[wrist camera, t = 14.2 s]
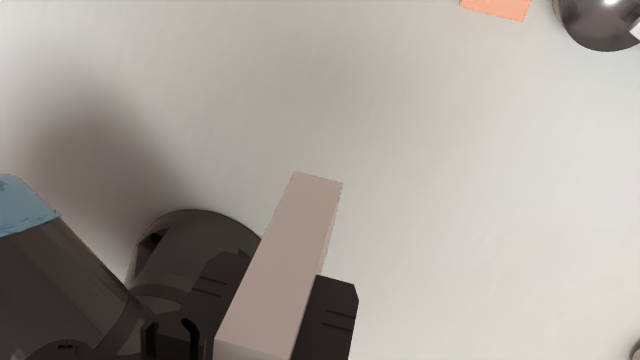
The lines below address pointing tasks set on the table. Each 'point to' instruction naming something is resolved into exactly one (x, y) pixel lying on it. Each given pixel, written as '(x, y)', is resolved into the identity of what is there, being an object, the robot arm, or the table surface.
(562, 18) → the tongs fixed
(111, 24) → the table surface
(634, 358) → the can
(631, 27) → the tongs arm
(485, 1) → the terracotta clay cube
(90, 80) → the table surface
